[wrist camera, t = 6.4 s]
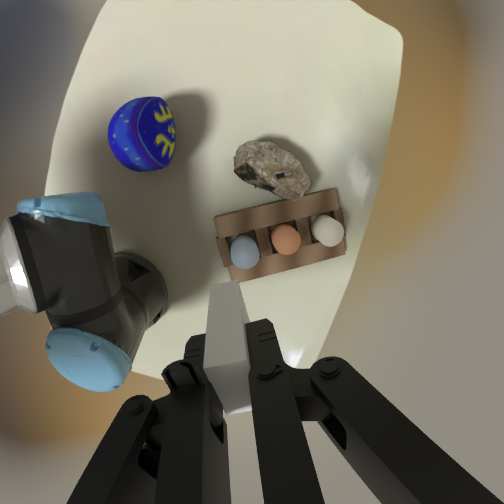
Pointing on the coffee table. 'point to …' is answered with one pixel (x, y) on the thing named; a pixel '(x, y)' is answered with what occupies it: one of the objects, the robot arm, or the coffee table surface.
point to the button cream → (327, 230)
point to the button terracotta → (285, 238)
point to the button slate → (244, 252)
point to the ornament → (143, 134)
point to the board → (273, 215)
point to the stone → (271, 169)
